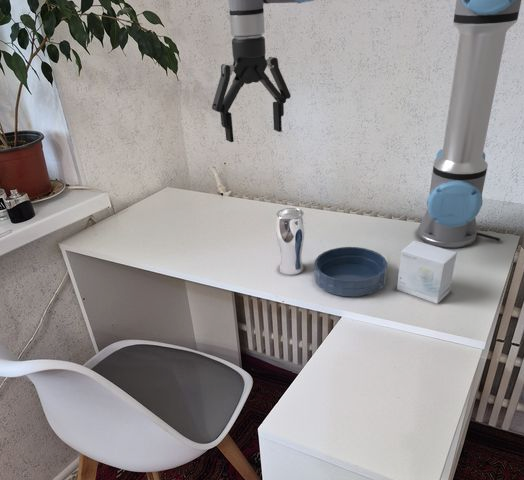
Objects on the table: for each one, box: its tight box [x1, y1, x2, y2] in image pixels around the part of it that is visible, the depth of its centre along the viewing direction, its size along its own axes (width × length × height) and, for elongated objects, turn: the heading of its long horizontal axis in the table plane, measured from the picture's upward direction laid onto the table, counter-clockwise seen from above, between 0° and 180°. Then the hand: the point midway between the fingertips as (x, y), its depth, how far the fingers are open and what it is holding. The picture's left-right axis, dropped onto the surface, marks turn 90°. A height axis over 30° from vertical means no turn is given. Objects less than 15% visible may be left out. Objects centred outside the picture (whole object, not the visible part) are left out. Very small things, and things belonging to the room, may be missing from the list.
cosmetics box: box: [396, 240, 458, 304], centre depth 115 cm, size 10×6×10 cm, turn 48°
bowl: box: [313, 246, 388, 297], centre depth 123 cm, size 17×17×4 cm
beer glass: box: [275, 207, 306, 276], centre depth 126 cm, size 7×7×15 cm
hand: (254, 135), depth 127 cm, fingers open, 13 cm apart
